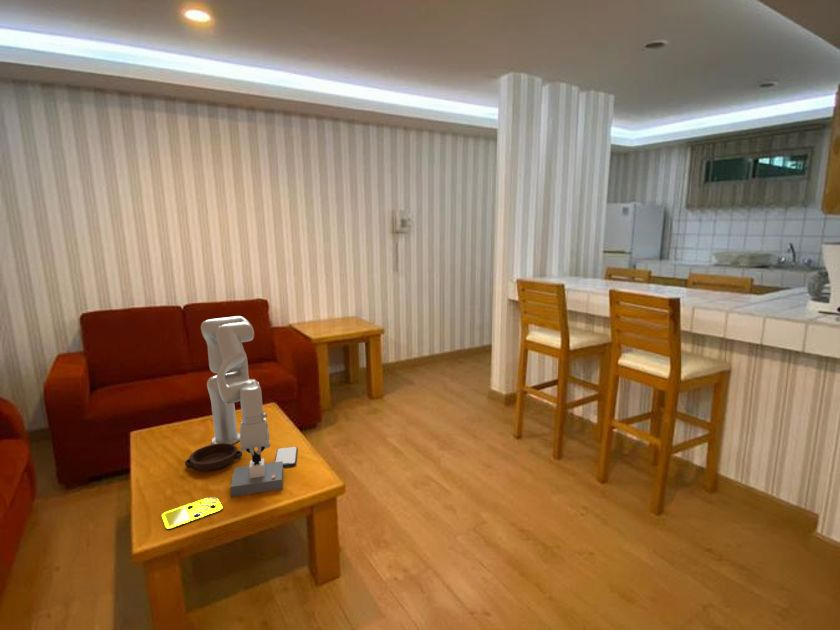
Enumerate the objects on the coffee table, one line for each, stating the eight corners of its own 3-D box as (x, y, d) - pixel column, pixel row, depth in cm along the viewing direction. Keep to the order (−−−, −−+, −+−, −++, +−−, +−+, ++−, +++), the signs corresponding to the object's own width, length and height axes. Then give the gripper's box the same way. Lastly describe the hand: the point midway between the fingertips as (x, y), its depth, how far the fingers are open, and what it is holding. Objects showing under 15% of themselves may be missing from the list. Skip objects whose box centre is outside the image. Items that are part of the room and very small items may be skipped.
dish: (243, 468, 188) (242, 457, 187) (183, 479, 180) (181, 468, 179) (242, 449, 204) (241, 438, 203) (187, 459, 196) (185, 448, 195)
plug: (252, 477, 179) (250, 460, 177) (265, 475, 180) (264, 458, 179) (250, 485, 174) (249, 467, 172) (264, 483, 175) (263, 465, 173)
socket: (235, 476, 181) (234, 466, 181) (283, 470, 186) (282, 459, 185) (231, 496, 168) (230, 485, 167) (282, 489, 173) (281, 478, 172)
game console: (167, 533, 150) (166, 529, 149) (160, 516, 158) (160, 512, 158) (224, 511, 161) (224, 507, 160) (215, 497, 169) (215, 493, 169)
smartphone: (277, 451, 203) (273, 469, 187) (277, 448, 203) (273, 465, 187) (297, 449, 205) (296, 466, 189) (297, 446, 204) (296, 463, 189)
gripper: (274, 411, 177) (277, 455, 181) (232, 416, 173) (237, 461, 177) (273, 419, 170) (277, 465, 174) (230, 424, 166) (234, 471, 170)
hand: (257, 463), depth 175 cm, fingers closed
